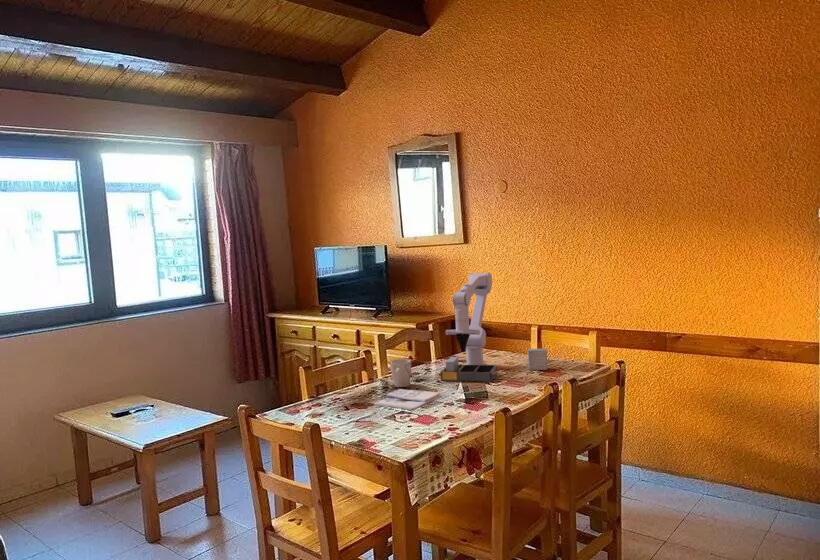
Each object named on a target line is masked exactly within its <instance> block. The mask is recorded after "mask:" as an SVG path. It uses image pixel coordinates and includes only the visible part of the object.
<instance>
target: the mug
mask: <svg viewBox="0 0 820 560" xmlns="http://www.w3.org/2000/svg"><path fill="white" fill-rule="evenodd" d="M390 370H391V376H392V380H393V381H392V382H393V385H394V387H396V388H405V387H406V388H407V387H409V386H410V384H411V376H412V360H411V359H408V358H398V359H393V360H391V361H390Z"/></svg>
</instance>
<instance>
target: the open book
mask: <svg viewBox="0 0 820 560" xmlns="http://www.w3.org/2000/svg"><path fill="white" fill-rule="evenodd" d="M440 394H441V393H440V392H435V391H427V390H426V391H425V390H415V389H406V388H405V389H403V388H399V389H397V390H393V391H391V392H389V393H386V394H385V396H386V397H384V398H383V399H381V400H378V401H376V402H374V403H373V405H374V406H381V407H387V408H388V407H389V408H395V409H403V410H407V411H414V410H416V409H419V408H420V407H423V406H424V405H427V404H428V403H431V402H432V401H435V400H438V399H439V398H441V397H442V395H440Z"/></svg>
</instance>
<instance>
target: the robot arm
mask: <svg viewBox="0 0 820 560" xmlns="http://www.w3.org/2000/svg"><path fill="white" fill-rule="evenodd" d="M492 285H493V276H492V274H491V273H490V272H482V273H480V272H479V273H478V272H477V273H473V272H471V273H469V275H468V282H467V283H464V285H463V286H462V287H461V288H460V289H459V290H458V291H456V292H454V293H453V294H452V299H451V300H452V305H453V310H454V314H455V315H454V317H455V329H445V335H446V336H450V335H451V336H455V339H456V341H457V342H458V345H459V347H460V352H462V353H465V355H466V357H465V358H466V365H487V364H486V362H484V350H483V348H484V347H485V345H486V343H487V342H486V341H487V333H486V330H485V329H484V328H483V327H482V323H483V319H484V312H485V308H486V302H487V298H488V294H490V293H491V290H492ZM474 295H475V297H474V298H475V300H474V305H473V310H472V314H471V319H470V313H469V312H470V311H469V308H470V307H469V306H470V305H471V300H472V297H473V296H474Z"/></svg>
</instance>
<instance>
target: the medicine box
mask: <svg viewBox="0 0 820 560" xmlns="http://www.w3.org/2000/svg"><path fill="white" fill-rule="evenodd" d="M527 361H528V362H527V366H528V367H527V368H528V369H529V370H528V371H547V370H549V369H548V351H547V348H528V349H527Z"/></svg>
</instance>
